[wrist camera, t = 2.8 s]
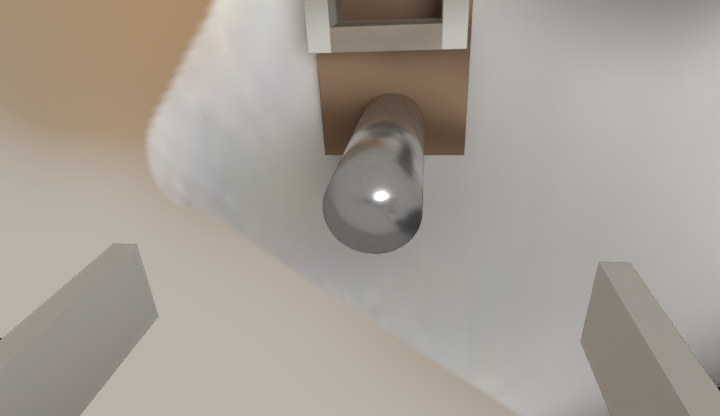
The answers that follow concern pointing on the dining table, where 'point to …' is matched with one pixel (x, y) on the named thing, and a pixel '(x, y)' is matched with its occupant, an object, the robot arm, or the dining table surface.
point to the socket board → (392, 64)
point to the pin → (379, 178)
